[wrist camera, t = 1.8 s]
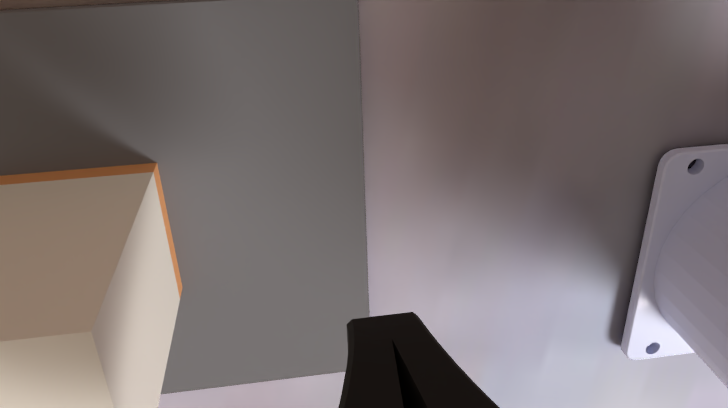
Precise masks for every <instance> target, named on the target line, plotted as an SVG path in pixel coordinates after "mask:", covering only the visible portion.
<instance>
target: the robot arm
mask: <svg viewBox="0 0 728 408" xmlns="http://www.w3.org/2000/svg"><path fill="white" fill-rule="evenodd" d="M695 159H696V162H695V164H694V166H692V167H691V168H690V169H688V166H689V164H690V163H691V162H692V161H693V160H695ZM347 342H348V358H347V367H346V373H345V379H344V384H343V390H342V395H341V400H340V404H339V408H499V407H498V406H497V405H496V404H495V403H494V402H493V401H492V400H491V399H490V398H489V397H488V396H487V395H486V394H485V393H484V392H483V391H482V390H481V389H480V388H479V387H478V386H477V385H476V384H475V383H474V382H473V381H472V380H471V379H470V378H469V377H468V376H467V374H466V373H465V372H464V371H463V370H462V369H461V368H460V367H459V366H458V365H457V364H456V363H455V361H454V360H453V359H452V358H451V357H450V356H449V355H448V353H447V352H446V351H445V350H444V349H443V348H442V346H441V345H440V344H439V343H438V342H437V340H436V339H435V338H434V337H433V335H432V334H431V333H430V332H429V330H428V329H427V328H426V326H425V325H424V324H423V323H422V321H421V320H420V318H419V317H418V316H417V315H416V314H414V313H413V312H409V313H401V314H392V315H384V316H375V317H366V318H358V319H352V320H351V321H350V322H349V323H348V324H347ZM651 343H652V344H651ZM649 344H650V345H649ZM648 345H649V346H648ZM621 350H622V351H623V353H624V354H625V355H626V357H627V358H629V359H631V360H640V359H648V358H656V357H664V356H671V355H679V354H687V353H696V354H697V355H698V356H699V357H700V358H701V359H702V361H703V362H704V363H705V364H706V365H707V366H708V367H709V368H710V369H711V370H712V371H713V373H714V374H715V375H716V376H717V377H718V378H719V379H720V380H721V381H722V382H723V383H724V385H725V386H726V387H727V388H728V144H721V145H709V146H698V147H687V148H677V149H673V150H670V151H669V152H667V153H666V154H664V156H663V157H662V158H661V159H660V162H659V164H658V168H657V173H656V178H655V183H654V188H653V193H652V197H651V202H650V207H649V212H648V217H647V222H646V227H645V231H644V236H643V241H642V246H641V251H640V256H639V260H638V265H637V270H636V275H635V280H634V285H633V290H632V294H631V299H630V304H629V309H628V314H627V319H626V324H625V328H624V333H623V338H622V343H621Z"/></svg>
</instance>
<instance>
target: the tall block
mask: <svg viewBox="0 0 728 408" xmlns="http://www.w3.org/2000/svg"><path fill="white" fill-rule="evenodd" d="M182 288H183V287H182V282H181V277H180V273H179V268H178V263H177V258H176V253H175V248H174V243H173V238H172V233H171V228H170V224H169V219H168V214H167V209H166V204H165V199H164V194H163V189H162V184H161V180H160V175H159V170H158V165H157V163H147V164H135V165H123V166H112V167H100V168H88V169H76V170H64V171H52V172H40V173H28V174H16V175H4V176H0V408H158V404H159V399H160V394H161V390H162V385H163V380H164V375H165V370H166V365H167V360H168V356H169V351H170V346H171V341H172V336H173V331H174V326H175V322H176V317H177V312H178V307H179V302H180V297H181V292H182Z"/></svg>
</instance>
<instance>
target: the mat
mask: <svg viewBox="0 0 728 408" xmlns="http://www.w3.org/2000/svg"><path fill="white" fill-rule="evenodd" d="M147 163H157V165H158V170H159V175H160V180H161V184H162V189H163V194H164V199H165V204H166V209H167V214H168V219H169V224H170V228H171V233H172V238H173V243H174V248H175V253H176V258H177V263H178V268H179V273H180V277H181V282H182V287H183V288H182V292H181V297H180V302H179V307H178V312H177V317H176V322H175V326H174V331H173V336H172V341H171V346H170V351H169V356H168V360H167V365H166V370H165V375H164V380H163V385H162V390H161V394H167V393H175V392H183V391H191V390H199V389H207V388H215V387H224V386H232V385H240V384H248V383H256V382H264V381H272V380H280V379H288V378H296V377H304V376H313V375H321V374H329V373H337V372H345V371H346V367H347V358H348V342H347V324H348V323H349V322H350V321H351V320H352V319H358V318H366V317H369V294H368V266H367V237H366V209H365V181H364V152H363V124H362V95H361V67H360V38H359V10H358V0H176V1H158V2H140V3H122V4H104V5H86V6H68V7H50V8H32V9H14V10H0V176H4V175H16V174H28V173H40V172H52V171H64V170H76V169H88V168H100V167H112V166H123V165H135V164H147Z"/></svg>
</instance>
